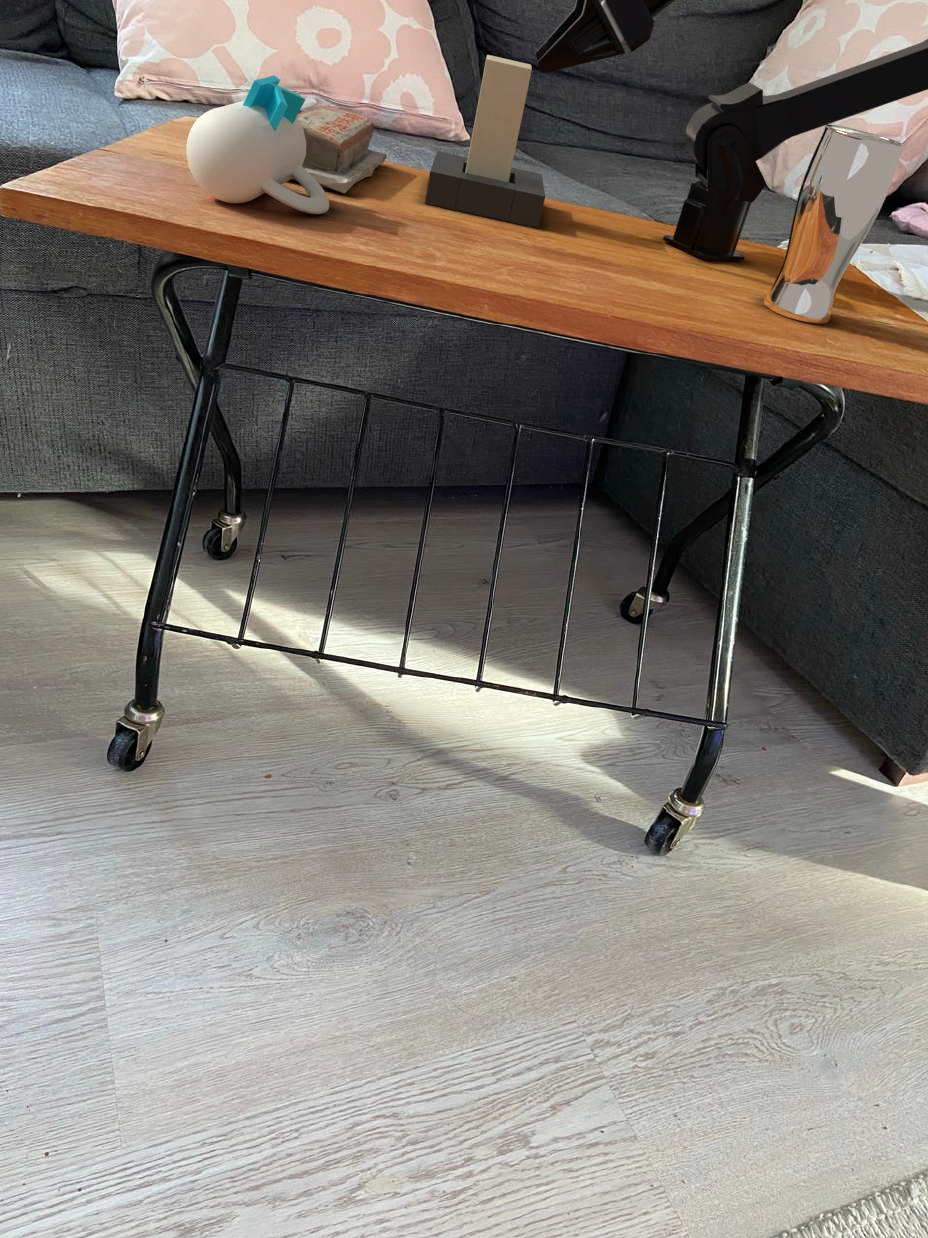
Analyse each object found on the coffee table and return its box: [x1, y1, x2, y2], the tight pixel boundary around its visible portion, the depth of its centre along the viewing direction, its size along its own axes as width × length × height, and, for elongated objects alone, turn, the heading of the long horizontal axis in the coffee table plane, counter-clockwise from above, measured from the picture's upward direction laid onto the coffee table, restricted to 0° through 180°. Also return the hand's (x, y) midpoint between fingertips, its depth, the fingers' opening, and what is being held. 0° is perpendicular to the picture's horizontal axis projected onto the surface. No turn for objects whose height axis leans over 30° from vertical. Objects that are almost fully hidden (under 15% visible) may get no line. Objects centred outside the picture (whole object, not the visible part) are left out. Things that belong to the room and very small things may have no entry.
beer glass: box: [763, 124, 905, 325], centre depth 86 cm, size 7×7×15 cm
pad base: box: [424, 150, 546, 229], centre depth 101 cm, size 11×11×3 cm
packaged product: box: [290, 105, 387, 194], centre depth 99 cm, size 18×5×10 cm
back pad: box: [465, 54, 533, 182], centre depth 98 cm, size 4×4×13 cm
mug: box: [185, 74, 330, 215], centre depth 83 cm, size 12×9×12 cm
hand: (538, 63), depth 94 cm, fingers open, 9 cm apart
